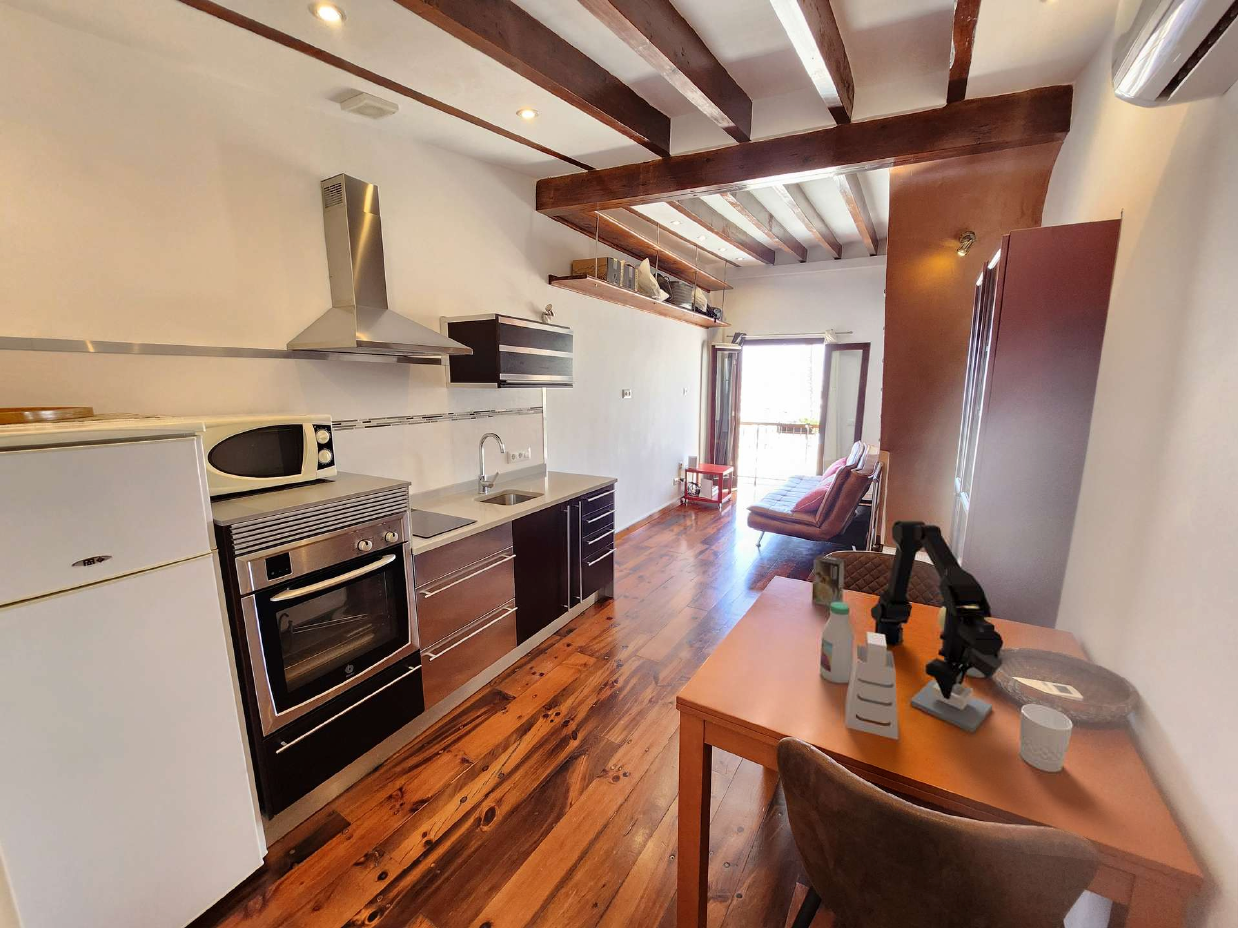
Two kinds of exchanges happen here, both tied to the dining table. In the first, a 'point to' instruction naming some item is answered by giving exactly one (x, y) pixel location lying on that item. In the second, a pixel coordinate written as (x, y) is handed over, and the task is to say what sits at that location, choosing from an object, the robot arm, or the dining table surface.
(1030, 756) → the white cup
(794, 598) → the dining table surface
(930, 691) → the post stand
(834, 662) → the milk bottle
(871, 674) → the grater
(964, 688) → the white square frame
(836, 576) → the coffee box
